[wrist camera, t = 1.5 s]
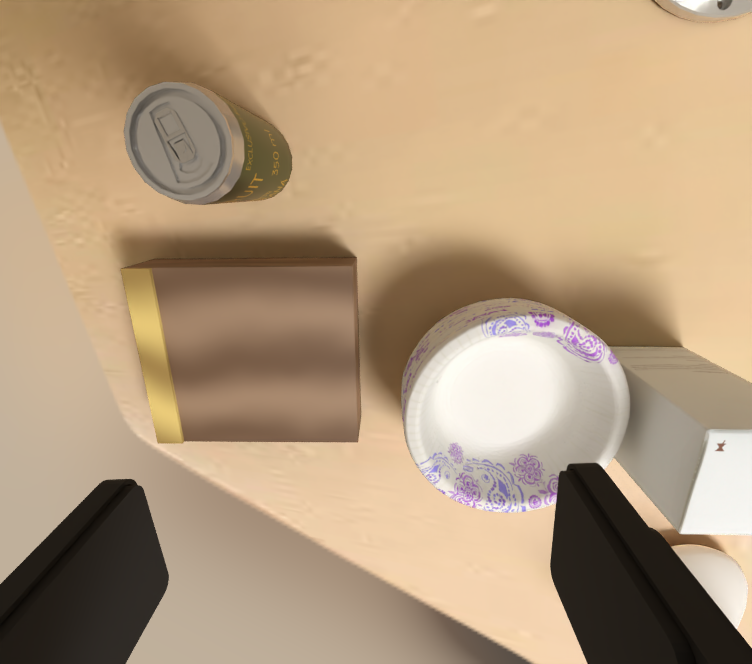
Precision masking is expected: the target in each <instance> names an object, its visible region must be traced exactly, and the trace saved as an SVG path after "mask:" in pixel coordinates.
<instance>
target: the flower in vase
mask: <svg viewBox="0 0 752 664" xmlns="http://www.w3.org/2000/svg"><path fill="white" fill-rule="evenodd" d="M671 548H672V549H673V550H674V551H675V553H676V554H677V555H678V556H679V558H680V559H681V560H682V561H683V563H684V564H685V565H686V566H687V568H688V569H689V570H690V571H691V573H692V574H693V575H694V576H695V578H696V579H697V580H698V582H699V583H700V584H701V585H702V587H703V588H704V589H705V590H706V592H707V593H708V594H709V595H710V597H711V598H712V599H713V600H714V602H715V603H716V604H717V605H718V607H719V608H720V609H721V610H722V612H723V613H724V614H725V615H726V617H727V618H728V619H729V621H730V622H731V623H732V624H733V626H734V627H735V628H736V629H737V628H738V625H739V623H740V621H741V619H742V616H743V613H744V611H745V607H746V603H747V594H748V585H747V581H746V578H745V576H744V573H743V571H742V569H741V567H740V566H739V564H738V563H737V562H736V561H735V560H734V559H733V558H732V557H730V556H729V555H727V554H726V553H724V552H721V551H719V550H716V549H713V548H710V547H707V546H702V545H694V544H685V545H676V546H671Z"/></svg>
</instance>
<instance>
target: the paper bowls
mask: <svg viewBox="0 0 752 664" xmlns="http://www.w3.org/2000/svg"><path fill="white" fill-rule="evenodd" d="M401 406H402V419H403V426H404V434H405V439H406V443H407V447H408V449H409V451H410V454H411V456H412V458H413V460H414V462H415V464H416V465H417V467H418V468H419V470H420V471H421V472H422V474H423V475H424V476H425V478H426V479H427V480H428V481H429V482H430V483H431V484H432V485H433V486H434V487H435V488H437V489H438V490H439V491H440V492H442V493H443V494H445V495H446V496H448V497H450V498H451V499H453V500H455V501H457V502H459V503H462V504H464V505H467V506H470V507H473V508H477V509H481V510H486V511H494V512H507V513H508V512H509V513H510V512H524V511H531V510H536V509H539V508H543V507H547V506H549V505H553V504H555V503H556V499H557V489H558V478H559V473H560V471H566V469H567V466H568V464H571V463H598V464H599V465H601V466H602V468H603V469H605V468H606V467H607V466H608V464H609V463H610V462H611V461H612V459H613V458H614V456H615V455H616V453H617V451H618V449H619V447H620V445H621V444H622V441H623V438H624V436H625V433H626V430H627V426H628V421H629V416H630V393H629V387H628V383H627V379H626V376H625V373H624V371H623V368H622V366H621V365H620V362H619V360H618V359H617V357H616V356H615V355H614V353H613V352H612V350H611V349H610V348H609V347H608V346H607V344H606V343H605V342H604V341H603V340H602V339H601V338H599V337H598V336H597V335H596V334H594V333H593V332H592V331H590V330H589V329H588V328H586V327H585V326H583V325H582V324H580V323H579V322H577V321H575V320H574V319H572V318H570V317H569V316H567V315H565V314H564V313H562V312H560V311H558V310H556V309H554V308H552V307H549V306H547V305H545V304H542V303H540V302H535V301H531V300H527V299H517V298H501V299H491V300H485V301H479V302H476V303H474V304H470V305H468V306H465V307H462V308H460V309H458V310H456V311H453V312H452V313H450V314H449V315H447V316H445V317H444V318H442V319H441V320H439V322H437V323H436V324H435V325H434V326H433V327H432V328H431V329H430V330H429V331H428V332H427V333H426V334H425V335H424V336H423V337H422V339H421V340H420V341H419V343H418V344H417V346H416V347H415V349H414V350H413V352H412V354H411V356H410V358H409V360H408V362H407V365H406V367H405V370H404V373H403V378H402V390H401Z"/></svg>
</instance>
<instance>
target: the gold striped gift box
mask: <svg viewBox="0 0 752 664" xmlns="http://www.w3.org/2000/svg"><path fill="white" fill-rule="evenodd" d="M121 273H122V278H123V283H124V287H125V292H126V297H127V301H128V306H129V311H130V315H131V320H132V325H133V329H134V334H135V339H136V343H137V348H138V353H139V357H140V362H141V367H142V372H143V376H144V381H145V386H146V390H147V395H148V400H149V404H150V409H151V414H152V418H153V423H154V428H155V432H156V437H157V442H158V443H183V442H184V441H226V442H358V437H359V429H360V421H361V395H360V359H359V323H358V288H357V257H342V258H226V259H153V260H149V261H146V262H142V263H139V264H136V265H132V266H129V267H125V268H122V269H121Z"/></svg>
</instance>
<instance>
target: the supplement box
mask: <svg viewBox="0 0 752 664" xmlns="http://www.w3.org/2000/svg"><path fill="white" fill-rule="evenodd" d="M608 347H609V348H610V349H611V350H612V352H613V353H614V355H615V356H616V357H617V359H618V360H619V362H620V365H621V366H622V368H623V371H624V373H625V376H626V379H627V383H628V387H629V393H630V416H629V421H628V426H627V430H626V433H625V436H624V438H623V441H622V444H621V445H620V447H619V449H618V451H617V453H616V455H615V456H614V458H615V459H616V460H617V462H618V463H619V464H620V465H621V466H622V467H623V469H624V470H625V471H626V472H627V473H628V474H629V476H630V477H631V478H632V479H633V480H634V481H635V483H636V484H637V485H638V486H639V487H640V488H641V489H642V491H643V492H644V493H645V494H646V495H647V497H648V498H649V499H650V500H651V501H652V502H653V503H654V505H655V506H656V507H657V508H658V509H659V510H660V511H661V513H662V514H663V515H664V516H665V517H666V518H667V520H668V521H669V522H670V523H671V524H672V525H673V527H674V528H675V529H676V530H677V531H678V533H680V534H714V535H752V383H750V382H748V381H746V380H745V379H743V378H741V377H739V376H737V375H735V374H733V373H731V372H729V371H727V370H726V369H724V368H722V367H720V366H718V365H716V364H714V363H712V362H710V361H709V360H707V359H705V358H703V357H701V356H699V355H697V354H695V353H694V352H692V351H690V350H688V349H686V348H684V347H613V346H608Z"/></svg>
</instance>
